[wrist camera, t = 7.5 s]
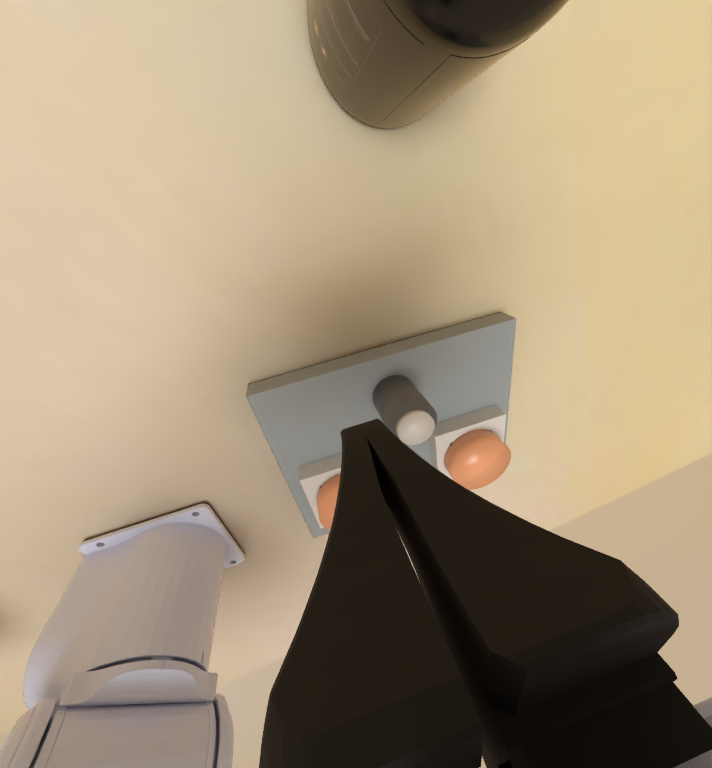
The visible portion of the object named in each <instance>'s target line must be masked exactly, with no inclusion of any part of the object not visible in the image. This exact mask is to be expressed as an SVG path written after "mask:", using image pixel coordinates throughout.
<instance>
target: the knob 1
mask: <svg viewBox="0 0 712 768" xmlns="http://www.w3.org/2000/svg"><path fill="white" fill-rule="evenodd" d="M339 482H340V474H339V475H336V476H334V477H332V478H331V479H329V480H328V481H327V482H325V483H324V484H323V485H322V487H321V488H320V489H319V491H318V493H317V498H316V501H317V508H318V515H319V520H320V523H321V524H322V526H323V527H325V528H326V529H328V530H330V529H331V525H332V521H333V516H334V512H335V507H336V501H337V495H338V489H339Z"/></svg>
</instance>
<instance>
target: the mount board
mask: <svg viewBox="0 0 712 768" xmlns="http://www.w3.org/2000/svg"><path fill="white" fill-rule="evenodd" d="M515 326H516V318H514V317H512V316H509V315H507V314H505V313H502V312H499V313H495V314H492V315H488V316H485V317H481V318H478V319H474V320H471V321H467V322H464V323H460V324H457V325H453V326H450V327H446V328H443V329H439V330H436V331H432V332H429V333H425V334H422V335H418V336H415V337H411V338H408V339H404V340H401V341H397V342H394V343H390V344H387V345H383V346H380V347H376V348H373V349H369V350H366V351H362V352H359V353H355V354H352V355H348V356H345V357H341V358H338V359H334V360H331V361H327V362H324V363H320V364H317V365H313V366H310V367H306V368H303V369H299V370H296V371H292V372H289V373H285V374H282V375H278V376H275V377H271V378H268V379H264V380H261V381H257V382H254V383H250V384H248V389H247V395H246V397H247V399H248V401H249V404H250V406H251V408H252V410H253V412H254V414H255V416H256V418H257V420H258V423H259V425H260V427H261V429H262V431H263V433H264V435H265V437H266V439H267V442H268V444H269V446H270V448H271V450H272V452H273V454H274V456H275V458H276V461H277V463H278V465H279V467H280V469H281V471H282V473H283V475H284V477H285V480H286V482H287V484H288V486H289V488H290V490H291V492H292V494H293V496H294V498H295V501H296V503H297V505H298V507H299V509H300V511H301V513H302V515H303V517H304V520H305V522H306V524H307V526H308V528H309V530H310V532H311V534H312V536H313V538H315V537H318V536H321V535H324V534H327V533H330V530H328V529H326V528H325V527H323V526H322V524H321V523H320V520H319V515H318V508H317V501H316V498H317V493H318V491H319V489H320V488H321V487H322V485H323V484H324V483H325V482H327V481H328V480H329V479H331V478H332V477H334V476H336V475H339V474H340V473H341V462H342V440H341V434H340V433H341V431H342V430H343V429H345V428H348V427H352V426H355V425H358V424H361V423H365V422H368V421H371V420H374V419H379V420H381V421H382V419H381V417H380V415H379V413H378V411H377V409H376V407H375V406H374V403H373V399H372V396H373V391H374V389H375V387H376V386H377V385H378V383H379V382H380V381H382V380H383V379H385V378H387V377H389V376H392V375H402V376H405V377H407V378H409V379H410V380H411V381H412V383H413V384H414V385H415V386H416V388H417V389H418V390H419V391H420V392H421V394H422V395H423V396H424V397H425V399H426V400H427V401H428V402H429V403H430V405H431V406H432V407H433V408H434V409H435V411H436V413H437V424H436V426H435V429H434V431H433V433H432V435H431V436H430V437H429V438H428V439H427V440H426V441H424V442H422V443H420V444H417V445H407V446H408V447H409V448H411V449H412V450H413V451H414V452H415V453H417V454H418V455H419V456H420V457H422V458H423V459H424V460H425V461H427V462H428V463H429V464H431V465H432V466H433V467H435V468H436V469H438V470H439V471H440V472H442V473H443V474H445V475H446V476H448V477H449V478H451V479H452V477H451V476H450V474H449V473H448V472H447V470H446V468H445V466H444V458H445V455H446V452H447V450H448V449H449V447H450V443H453V442H455V441H456V440H457V439H458V438H460V437H461V436H463V435H464V434H467V433H469V432H471V431H475V430H489V431H491V432H493V433H494V434H495V435H496V436H497V437H498V438H499V439H500V440H501V441H502V442H503V443H504V444H506V432H507V420H508V408H509V397H510V385H511V373H512V361H513V349H514V337H515ZM382 422H383V421H382ZM452 480H453V479H452Z"/></svg>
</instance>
